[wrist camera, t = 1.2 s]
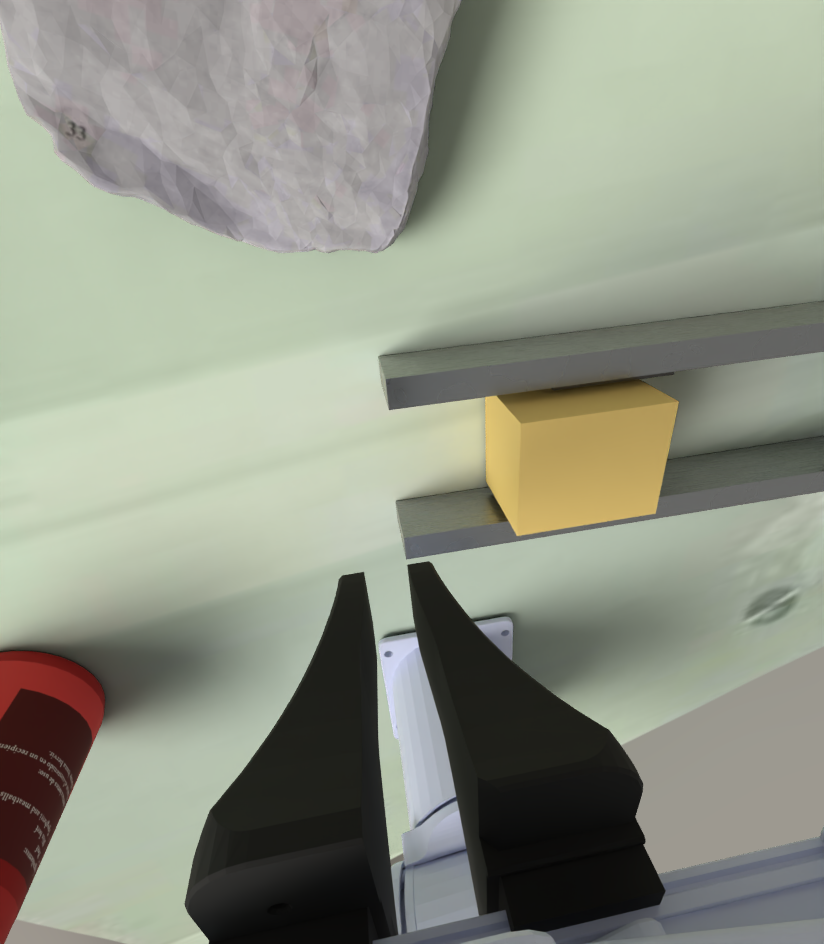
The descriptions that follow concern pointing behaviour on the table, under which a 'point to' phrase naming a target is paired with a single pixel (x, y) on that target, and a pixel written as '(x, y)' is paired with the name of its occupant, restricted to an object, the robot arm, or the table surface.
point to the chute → (600, 362)
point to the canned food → (38, 760)
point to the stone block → (240, 108)
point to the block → (578, 453)
